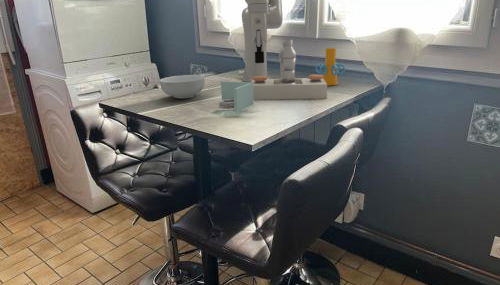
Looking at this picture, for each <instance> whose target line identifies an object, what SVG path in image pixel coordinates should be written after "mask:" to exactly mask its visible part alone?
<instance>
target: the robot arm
mask: <svg viewBox="0 0 500 285" xmlns="http://www.w3.org/2000/svg"><path fill="white" fill-rule="evenodd" d="M244 1H245V3H246V5H247V6H246V7H245V8H244V9H243V10H242V12H241V23H242V28H243V36H244V61H245V63H244V64H245V69H244V70H239V71H238V75H239V76H243V77H242V82H249V83H251V82H252V80H253V77H254V76H267V79H271V76H269V75H268V72H267V71H268V70H267V69H268V66H267V65H268V63H267V42H268V30H273V29H280V28H281V27H282V25H283V5H282V4H283V3H282V0H244Z"/></svg>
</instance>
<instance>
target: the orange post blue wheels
mask: <svg viewBox="0 0 500 285" xmlns="http://www.w3.org/2000/svg"><path fill="white" fill-rule="evenodd" d="M336 53H337V48H336V47H326V48H325V61H324V62H325V63H324V64H323V63H318V64H316V66H315V68H314V70H315V72H316V73H317V74H318V75H323V80H324V81H325V82H326V83H327V87H330V86H332V87H333V86H336V85H338V75H343V74H344V73H345V71H346V66H345V65H344V64H343V63H338V62H336ZM341 67H342V71H340V70H341ZM318 68H319V69H318ZM322 68H323V70H322Z"/></svg>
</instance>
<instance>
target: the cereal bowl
mask: <svg viewBox="0 0 500 285" xmlns="http://www.w3.org/2000/svg"><path fill="white" fill-rule="evenodd" d="M205 83H206V82H205V76H203V75H198V74H197V75H196V74H182V75H174V76H173V75H172V76H167V77H163V78H160V79H159V85H160V89H161V90H162V92H163V93H164V94H165V95H168V96H169V97H170V96H171V97H173V98H175V99H189V98H193V97H194V96H196V95H197V94H198V93H200V92H201V91H203V89H204V87H205V85H206V84H205Z"/></svg>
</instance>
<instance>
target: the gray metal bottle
mask: <svg viewBox="0 0 500 285" xmlns="http://www.w3.org/2000/svg"><path fill="white" fill-rule="evenodd" d="M293 44H294V43H293V39H282V48H281V50H280V51H279V53H278V59H279V68H280V75H279V76H280V78H279V79H280V84H296V82H295V79H296V61H297V52H296V50H295V49H294V47H293Z"/></svg>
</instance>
